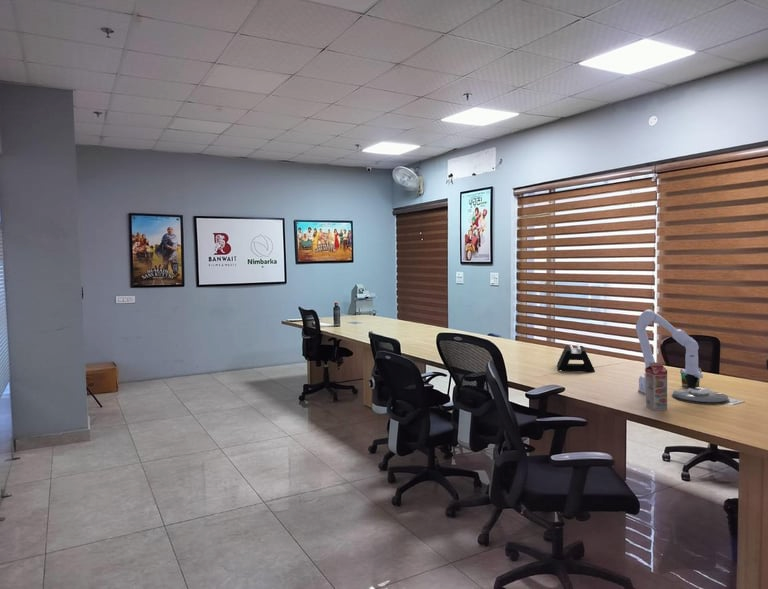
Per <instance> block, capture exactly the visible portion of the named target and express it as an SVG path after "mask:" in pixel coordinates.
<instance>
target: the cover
mask: <svg viewBox="0 0 768 589" xmlns="http://www.w3.org/2000/svg"><path fill="white" fill-rule="evenodd" d="M688 389H689V394H691V395H695V396H709V391H710V389H709V388H706V387H701V386H699V387H690V388H688Z"/></svg>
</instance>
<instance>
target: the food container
mask: <svg viewBox="0 0 768 589" xmlns="http://www.w3.org/2000/svg"><path fill="white" fill-rule="evenodd" d="M682 369H683V368H680V371H679V373H680V378H681V387H682V388H687V389H689V387H688V383H687V380H686V379H685V377H684V376H685V375H687V374H685V373H682ZM698 371H699V372H700V374H702V373H703V372H702V369H701V367H698ZM700 380H701V378H699V379H698V381H697V383H696V386H695V387H700V382H701V381H700Z"/></svg>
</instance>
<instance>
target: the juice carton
mask: <svg viewBox="0 0 768 589" xmlns="http://www.w3.org/2000/svg"><path fill="white" fill-rule="evenodd" d="M645 373H646V394H645V407H646V408H647V407H648V409H649V408H651V409H650V410H652V411H665V410H666V411H667V410H668V369H666V367H665V366H664V362H663V361H659V362H657V361H655V363H649V367H647V368H646V372H645Z"/></svg>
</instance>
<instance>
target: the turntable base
mask: <svg viewBox="0 0 768 589" xmlns="http://www.w3.org/2000/svg"><path fill="white" fill-rule="evenodd" d="M671 397H672V398H673V399H675V400H677V401H680V402H683V403H684V402H685V403H688V404H690V403H691V404H696V405H708V406H709V405H725V404H728V403H729V402H730V398H728V401H726V402H720V403H702V402H693V401H687V400H682V399H679V398H676V397H674V396H673V393H671Z"/></svg>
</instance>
